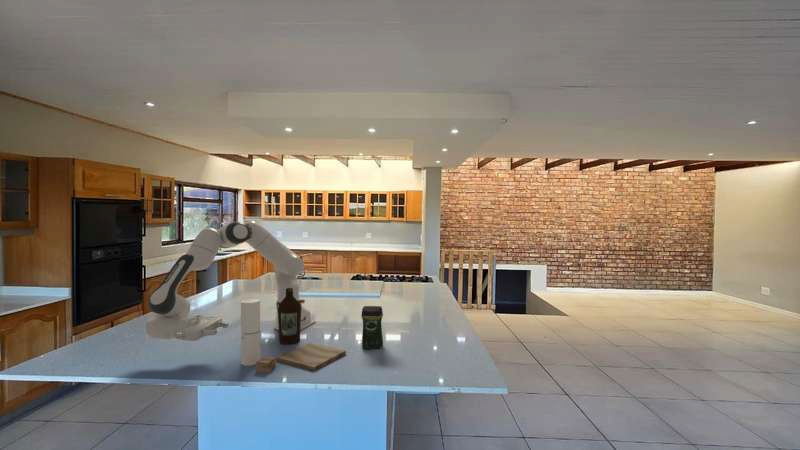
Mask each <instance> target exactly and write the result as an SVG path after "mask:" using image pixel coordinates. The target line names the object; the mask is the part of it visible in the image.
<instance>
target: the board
mask: <svg viewBox="0 0 800 450" xmlns="http://www.w3.org/2000/svg"><path fill="white" fill-rule="evenodd" d="M346 351H347V350H344V349H341V348H336V347H332V346H331V347H330V346H326V345H321V344H318V343H314V342H309V343H307V344H303V345H302V346H299V347H297V348H294V349H293V350H290V351H288V352H286V353H283V354H281V355H279V356H276V362H279V363H283V364H286V365H290V366H294V367H298V368H302V369H306V370H307V371H308V370H309V371H313V372H315V371H317V370H319V369H320V368H322V367H324V366H326V365H328V364H330V363H332V362H334V361H335V360H338V359H339V358H341V357H343V356H345V355H346V354H347V352H346Z"/></svg>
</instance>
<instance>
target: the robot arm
mask: <svg viewBox="0 0 800 450" xmlns="http://www.w3.org/2000/svg"><path fill="white" fill-rule="evenodd" d="M243 243H247V244H248V245H249V246H250V247H251V248H253V250H254V251H256V252H257V253H258V254H259V255H260V256H262V257H263V258H264V259H265V260H267V261H268V262H270V263H271V264H272V266H273V269H274V276H275V281H276V292H277V293H276V294H277V295H276V296H277V300H276V316H275V323H274V328H273V329H274V330H276V331H279V323H278V306H279V304H280V303H281V301H282V300H283V299H284V298H285V297H286V288H293V297H294V298H295V299H296V300H297V301H298V302H299V303H300V305H301V324H300V331H301V330H303V329H305V328H307V327H309V326H312V325H313V324H315V323H316V320H315V319H314V318H312V315H311V311H310V310H308V309H307V308H305V306H303V305H302V304H305V303H306V299H304V298H303V299H302V298H301V299H300V284H299V282H298V279H297V276H298V275H300V274H301V273H303V271H304V269H305V262H304V260H303V259H302V258H301V257H300V256H299V255H298V254H296V253H295V252H294V251H292V250H291V249H290V248H289V247H287V246H286V245H285V244H283V243H282V242H281V241H279V239H277V238H276V237H275V236H274V235H273V234H272V233H271V232H269V230H268V229H267V228H265V227H263V226H262V225H261V224H259V223H257V221H254V220H249V221H246V222H242V221H233V222H229V223H227V224H224V225H223V226H221V227H218V228H217V229H215V228H213V227H205V228H202V229H201V231H199V232H198V234H197V235H196V237H195V238H194V239H193V241H192V242H191V244H190V246H189V248H188V250H187V251H186V252H185V254H182V255H181V256H179V258H178V259H177V260H176V261H175V262H174V264H173V266H172V267H171V269H170V270H169V271H168V273H167V274H166V276H165V278H163V280H162V281H161V283H160V284H159V285H158V286H157V287H156V288H155V289H154V290H153V291H152V292H151V293H150V295H149V297H148V298H147V307H148V309H149V310H150V311H151V312H152V313H153V314H155V315H153V317H151V318H150V319H148V320H147V322H146V324H145V331H146V334H147V335H148V336H149V337H150V338H152V339H156V340H172V339H174V340H181V341H185V342H187V341H188V342H190V341H191V342H196V341H200V339H202V338H204V337H209V336H216V335H217V334H218V330H217V329H219V328H222V329H223V328H224V329H226V328H229V322H224V321H223V319H222V317H219V316H209V315H208V316H204V315H203V314H202V315H201V314H198V315H193V316H188V315H189V312H190V310H191V303H190V301H189V299H187V298H185V297H184V296H183V295H180V294H178V293H177V291H178V288H179V286H180V285H181V283H182V282H183V281H184V279H185V277H186V276H187V275H188V274H189V273H190V272H192V271H203V270H206V269H208V268H209V267H210V266H211V265H212V263H213V262H214V260H215V258H216V256H217V253H218V251H219V249H231V248H234V247H237V246H239V245H241V244H243Z"/></svg>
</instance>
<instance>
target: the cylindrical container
mask: <svg viewBox="0 0 800 450" xmlns="http://www.w3.org/2000/svg"><path fill="white" fill-rule="evenodd" d="M240 329H241V330H240V333H241V334H240V343H241V345H240V346H241V349H240V350H241V351H240V352H241V355H240V356H241V361H240V362H241V365H242V366H247V367H249V366H250V367H251V366H254V365H255V366H256V361H258V360H260V359H261V300H260V299H259V298H248V299H247V298H246V299H243V300H241V301H240Z"/></svg>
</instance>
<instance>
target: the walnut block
mask: <svg viewBox="0 0 800 450" xmlns="http://www.w3.org/2000/svg"><path fill="white" fill-rule="evenodd" d="M276 362H277V358H276V357H271V356H263V357H260V360H258V361H256V364H255V366H256V372H259V373H267V374H268V373H270V372H271V371H273V370H274V369H276V367H277V366H276V365H277V364H276Z"/></svg>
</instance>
